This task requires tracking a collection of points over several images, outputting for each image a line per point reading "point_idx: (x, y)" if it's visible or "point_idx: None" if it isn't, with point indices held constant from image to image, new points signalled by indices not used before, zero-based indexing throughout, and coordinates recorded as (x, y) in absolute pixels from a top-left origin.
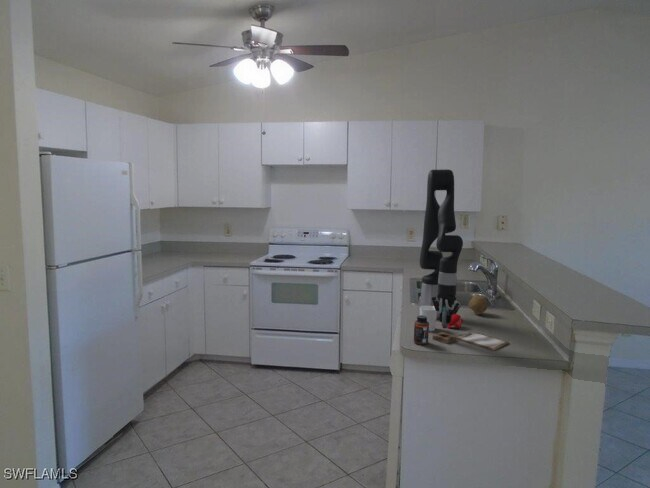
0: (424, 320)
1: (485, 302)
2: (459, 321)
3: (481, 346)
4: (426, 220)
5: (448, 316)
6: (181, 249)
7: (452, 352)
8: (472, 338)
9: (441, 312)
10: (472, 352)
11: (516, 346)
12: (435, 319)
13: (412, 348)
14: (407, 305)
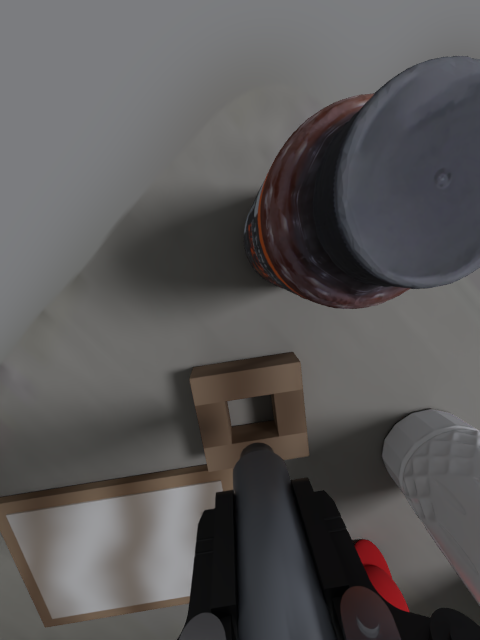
0: (319, 166)
1: None
2: None
3: (64, 490)
4: None
5: (212, 597)
6: None
7: (66, 290)
8: (166, 529)
9: (341, 620)
10: (21, 391)
11: (9, 618)
12: (431, 530)
13: (244, 97)
14: None
